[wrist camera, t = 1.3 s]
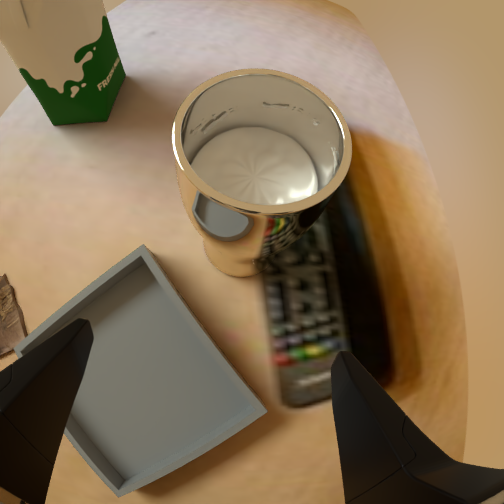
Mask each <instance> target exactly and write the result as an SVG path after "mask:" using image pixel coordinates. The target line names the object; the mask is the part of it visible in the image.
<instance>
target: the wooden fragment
mask: <svg viewBox="0 0 504 504" xmlns="http://www.w3.org/2000/svg"><path fill="white" fill-rule="evenodd" d="M27 336H28V335H27V331H26V327H25V323H24V318H23V313H22V310H21V308H20V306H19V305H18V304H17V302H16V299H15V296H14V290H13V288H12V286H10V285H9V283H8V280H7V277H6V275H5V274H4V275H3V276H0V355H2V354H4V353H7V352H8V351H11V350H12V349H14V348H15V347H16V346H17V345H18V344H19V343H20V342H21V341H22V340H24V339H25V338H26V337H27Z"/></svg>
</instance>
